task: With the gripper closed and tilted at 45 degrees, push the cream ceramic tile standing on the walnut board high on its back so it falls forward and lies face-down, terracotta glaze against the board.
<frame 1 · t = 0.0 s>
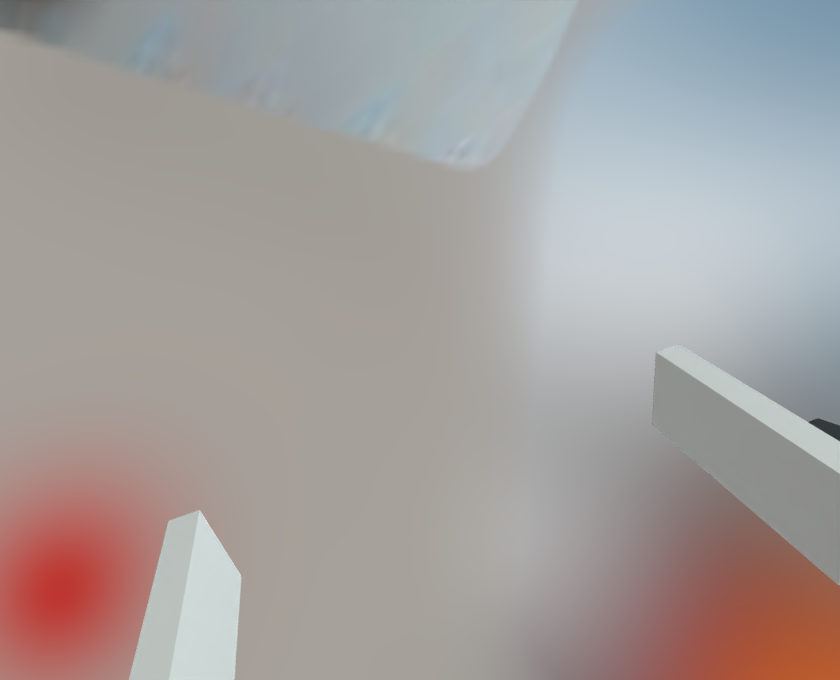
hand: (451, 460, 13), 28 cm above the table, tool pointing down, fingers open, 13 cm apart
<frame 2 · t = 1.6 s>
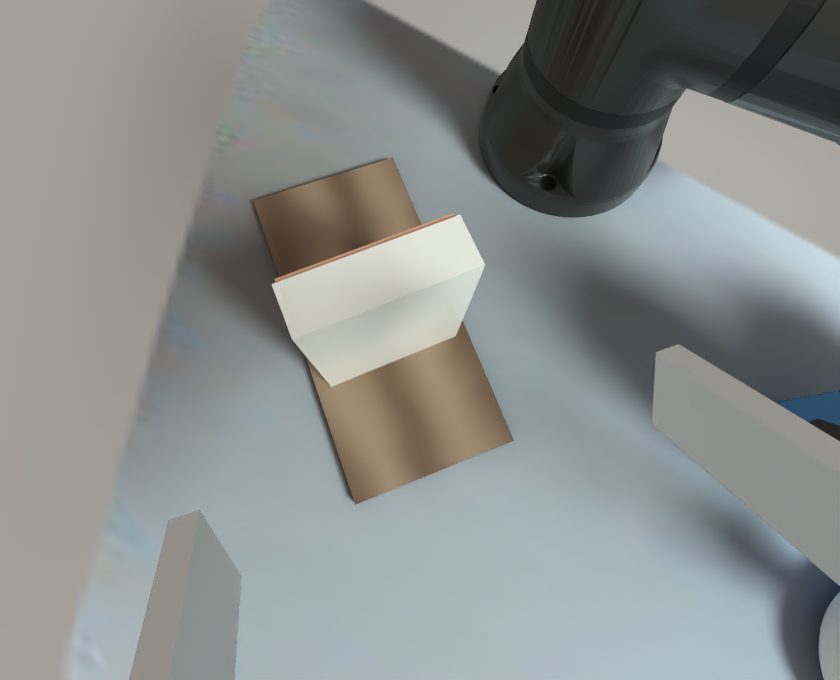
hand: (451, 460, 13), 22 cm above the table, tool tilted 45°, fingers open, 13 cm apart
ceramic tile: (387, 343, 36), point 1 cm above the table, touching walnut board
water bottle: (789, 462, 36), on the table
walnut board: (376, 316, 37), on the table
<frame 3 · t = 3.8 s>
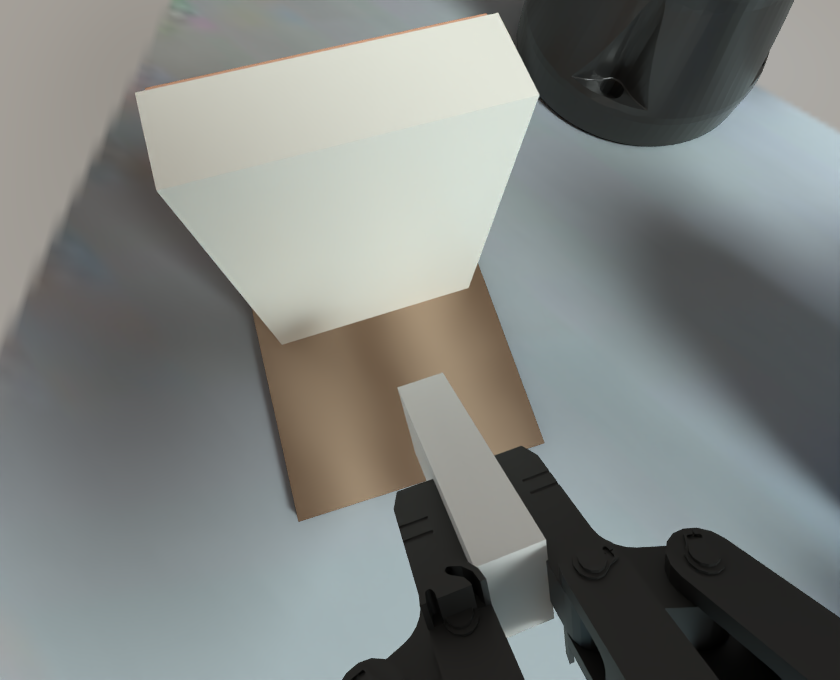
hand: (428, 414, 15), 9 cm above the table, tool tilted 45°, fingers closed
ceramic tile: (369, 289, 25), point 1 cm above the table, touching walnut board
walnut board: (357, 255, 26), on the table
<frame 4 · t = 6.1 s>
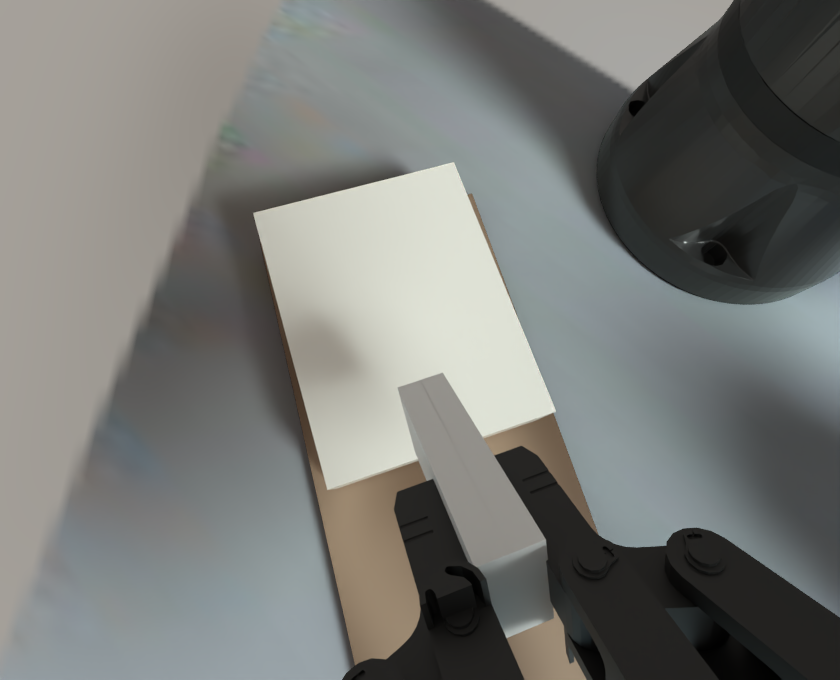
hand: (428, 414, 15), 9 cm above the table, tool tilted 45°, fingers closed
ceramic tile: (442, 451, 21), point 3 cm above the table, tilted 90°, touching walnut board
walnut board: (434, 440, 24), on the table
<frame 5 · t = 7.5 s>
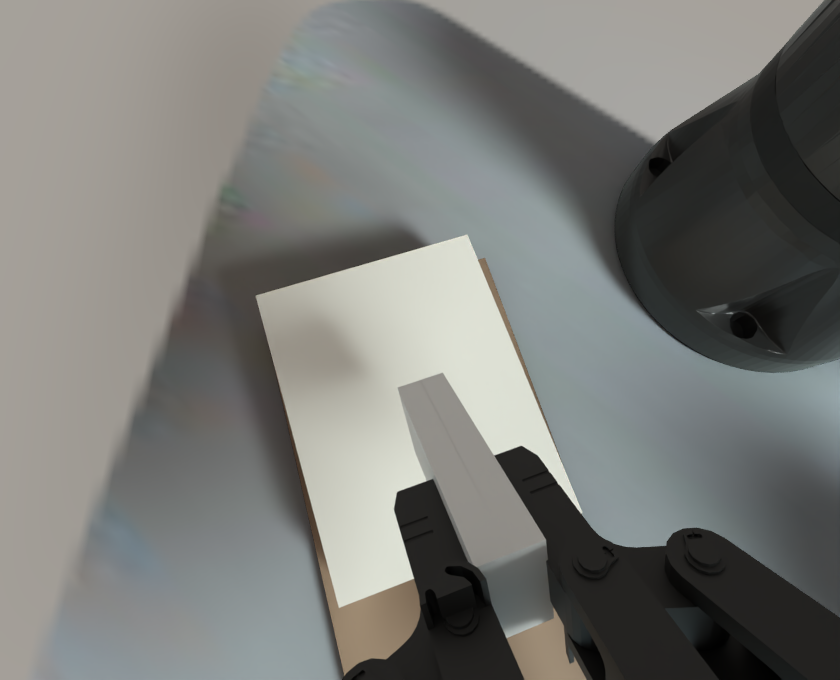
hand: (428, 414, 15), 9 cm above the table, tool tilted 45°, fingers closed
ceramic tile: (460, 553, 20), point 3 cm above the table, tilted 90°, touching walnut board
walnut board: (449, 529, 22), on the table
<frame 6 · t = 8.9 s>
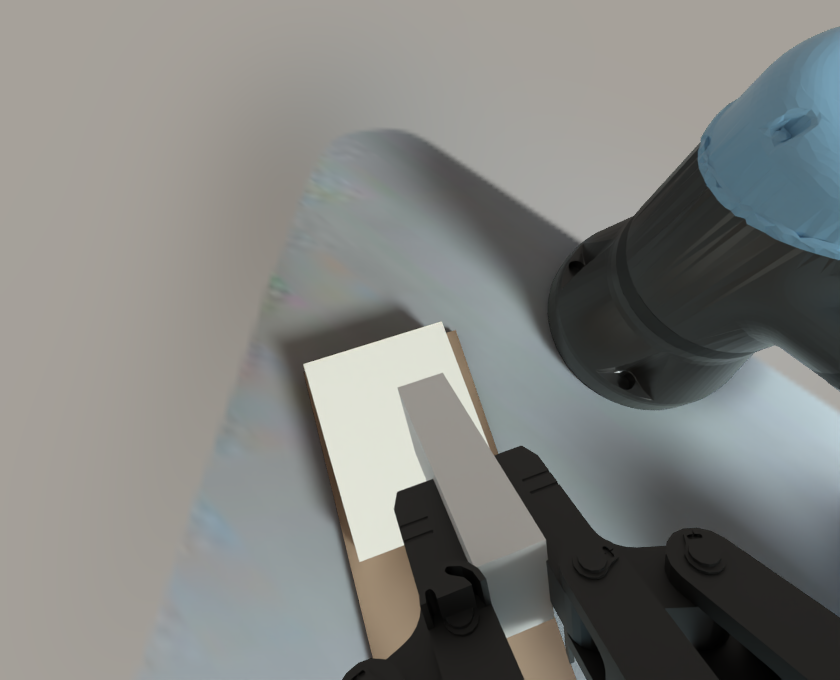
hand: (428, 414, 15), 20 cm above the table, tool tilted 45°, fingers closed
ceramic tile: (435, 530, 31), point 3 cm above the table, tilted 90°, touching walnut board
walnut board: (429, 517, 34), on the table
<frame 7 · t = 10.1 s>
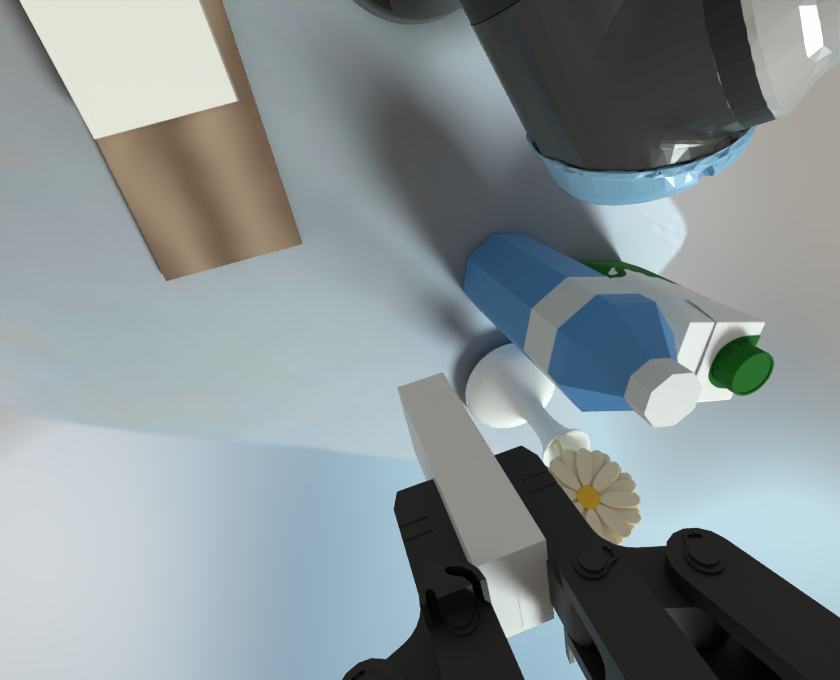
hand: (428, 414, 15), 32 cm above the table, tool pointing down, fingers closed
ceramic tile: (171, 119, 35), point 3 cm above the table, tilted 90°, touching walnut board
milk carton: (586, 288, 55), on the table
flower in vase: (498, 377, 57), on the table
water bottle: (501, 273, 51), on the table
walnut board: (173, 107, 37), on the table
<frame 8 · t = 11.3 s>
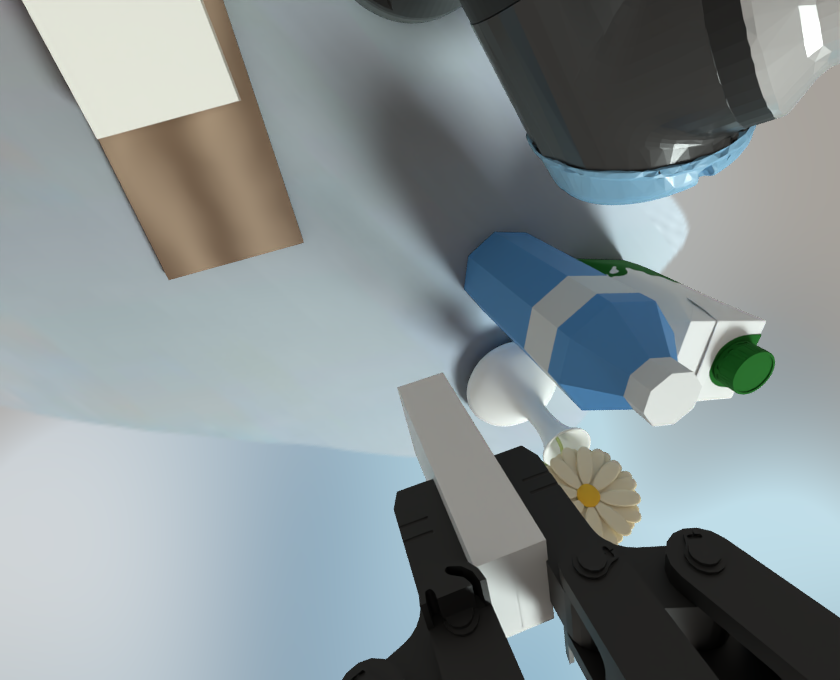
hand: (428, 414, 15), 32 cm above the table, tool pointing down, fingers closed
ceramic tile: (173, 118, 35), point 3 cm above the table, tilted 90°, touching walnut board
milk carton: (587, 287, 55), on the table
flower in vase: (499, 375, 57), on the table
water bottle: (503, 271, 51), on the table
walnut board: (175, 107, 37), on the table
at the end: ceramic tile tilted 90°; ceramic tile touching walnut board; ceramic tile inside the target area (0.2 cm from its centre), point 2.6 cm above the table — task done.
